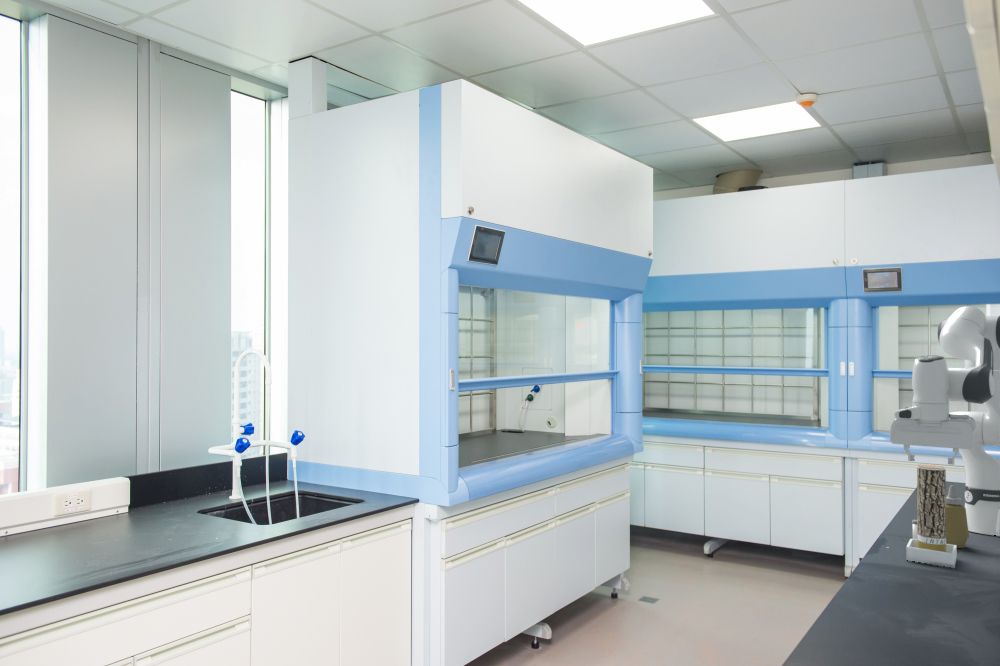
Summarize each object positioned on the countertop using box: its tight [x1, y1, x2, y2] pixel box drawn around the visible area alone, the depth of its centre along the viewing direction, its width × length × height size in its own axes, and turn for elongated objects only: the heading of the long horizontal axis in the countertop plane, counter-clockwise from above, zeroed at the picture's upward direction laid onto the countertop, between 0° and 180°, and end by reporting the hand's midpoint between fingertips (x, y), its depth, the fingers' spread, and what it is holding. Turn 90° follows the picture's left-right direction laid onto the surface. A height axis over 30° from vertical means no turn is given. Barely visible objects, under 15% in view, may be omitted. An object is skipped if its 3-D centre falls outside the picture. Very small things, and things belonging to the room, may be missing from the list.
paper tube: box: [916, 464, 947, 552], centre depth 192 cm, size 7×7×25 cm
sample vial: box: [911, 519, 918, 540], centre depth 212 cm, size 3×3×6 cm
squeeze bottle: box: [946, 485, 970, 549], centre depth 207 cm, size 8×8×18 cm
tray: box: [905, 538, 958, 569], centre depth 191 cm, size 11×11×4 cm
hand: (931, 462), depth 192 cm, fingers open, 8 cm apart
